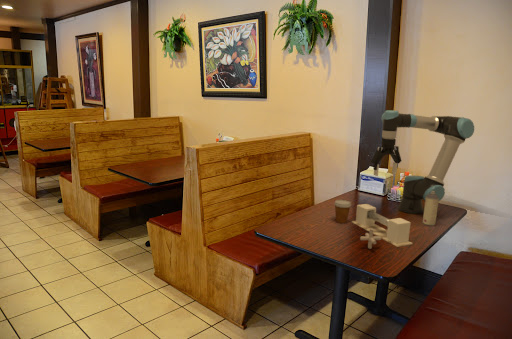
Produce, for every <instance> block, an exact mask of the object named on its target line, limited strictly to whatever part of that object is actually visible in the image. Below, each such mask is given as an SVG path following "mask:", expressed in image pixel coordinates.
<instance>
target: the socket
mask: <svg viewBox="0 0 512 339" xmlns="http://www.w3.org/2000/svg"><path fill="white" fill-rule="evenodd" d="M389 219H390V218H389ZM411 224H412V222H410V221H408V220H406V219H404V218H401V217H397V218H392V219H390V220H388V227H387V228H386V230H387V238H386V239H388V240H389V241H391V242H393V243H395V244H399V243H405V242H408V241H409V237H410V230H411Z"/></svg>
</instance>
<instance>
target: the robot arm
mask: <svg viewBox="0 0 512 339" xmlns="http://www.w3.org/2000/svg"><path fill="white" fill-rule="evenodd" d="M380 119H381V122H382V134H381V137H382V138H381V147H380V146H377V147H376V151H375V153H374V155H373V157H372V159H371V161H370V163H371V164H373V176H375V177H378V176H379V168H380V164H379V163H380V162H381V160H382V159H383V158H384V156H386V155H390V157H391V158H392V161H393V162H392V168H391V169H392V171H391V174H393V175H397V172H398V168H399V164H401V162H402V158H401V154H400V150H399V146H398V145H396V141H397V140H396V138H397V131H398V128H399V129H400V128H413V129H422V130H428V131H429V132H435V133H437V134H442V135H443V137H444V142H443V143H442V145H441V148H440V149H439V152H438V153H437V156H436V158H435V160H434V162H433V165H432V167H431V169H430V171H429V174H428V175H426V176H421V175H406V176H405V177H404V181H403V188H402V198H401V200H400V202H399V204H398V206H397V207H398V210H399V211H400V212H402V213H406V214H412V215H419V214H421V215H422V214H424V207H423V201H425V200H426V195H428V194H430V193H431V192H432V191H435V194H436V195H437V196H438V197H439V201H438V203H439V202H440V201H441V200H442V199H443V198H444V197H445V193H446V190H445V187H444V186H445V183H444V179H445V177H446V175H447V173H448V170H449V169H450V167H451V164H452V162H453V160H454V158H455V156H456V154H457V151H458V149H459V147H460V146H461V144H464V143H465V141H466V140H467V139H470V138H471V137H472V136H473V135H474V133H475V125H474V122H473V121H472V120H471V119H470V118H467V117H463V116H461V117H459V116H451V115H448V116H447V115H445V116H444V115H443V116H440V115H439V116H438V115H437V116H436V115H432V116H424V115H423V116H422V115H415V114H414V113H413V114H412V113H400V112H399V111H398V110H385V111H384V113H382V115H381V118H380Z"/></svg>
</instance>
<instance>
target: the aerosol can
mask: <svg viewBox="0 0 512 339" xmlns="http://www.w3.org/2000/svg"><path fill="white" fill-rule="evenodd" d="M424 201H425V202H424V207H423V216H422V225H424V226H427V227H435V226H436V222H437V215H438V207H439V202H440V201H439V197H438V196H437V195H436V194H435V191H432V192H431V193H430V194H428V195H426V200H424ZM438 201H439V202H438Z"/></svg>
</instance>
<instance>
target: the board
mask: <svg viewBox="0 0 512 339" xmlns="http://www.w3.org/2000/svg"><path fill="white" fill-rule="evenodd" d="M350 222H351V224H354V225H356V226H358V227H359V228H362V229H364V230H365V231H367V232H369V230H370V228H373V236H381V240H383V241H385V242H387V243H389V244H390V245H393V246H395V247H397V248H398V247H399V248H400V247H404V246H411V245H413V242H411V241H409V240H408V242H405V243H399V244H395V243H393V242H391V241H389V240H388V239H386V238H387V228H386V229H385V228H384V227H382V226H380V225H378V224H375V225H373V226H366V227H364V226H362V225H360V224H359V223H357V222H356V220H352V221H350Z"/></svg>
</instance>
